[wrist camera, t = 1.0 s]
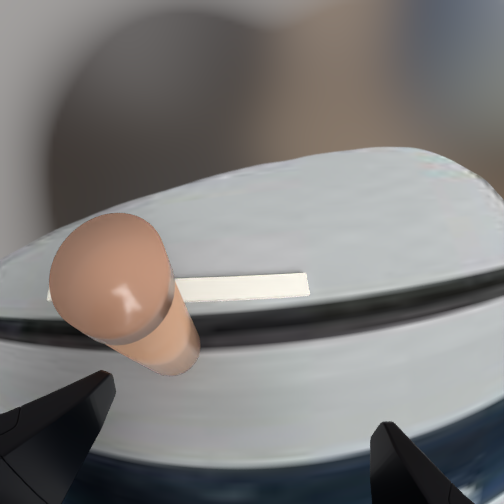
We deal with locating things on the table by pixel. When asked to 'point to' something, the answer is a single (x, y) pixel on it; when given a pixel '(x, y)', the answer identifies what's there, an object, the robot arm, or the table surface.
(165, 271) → the tumbler
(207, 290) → the line
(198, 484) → the table surface
